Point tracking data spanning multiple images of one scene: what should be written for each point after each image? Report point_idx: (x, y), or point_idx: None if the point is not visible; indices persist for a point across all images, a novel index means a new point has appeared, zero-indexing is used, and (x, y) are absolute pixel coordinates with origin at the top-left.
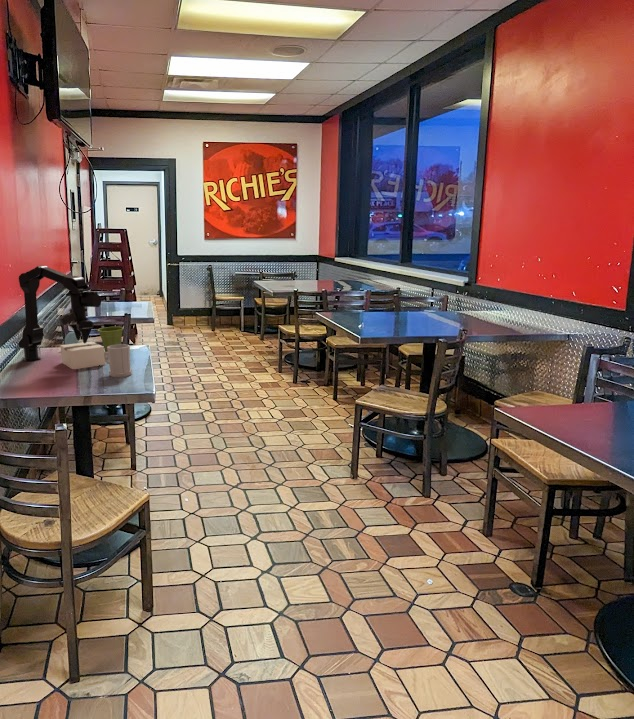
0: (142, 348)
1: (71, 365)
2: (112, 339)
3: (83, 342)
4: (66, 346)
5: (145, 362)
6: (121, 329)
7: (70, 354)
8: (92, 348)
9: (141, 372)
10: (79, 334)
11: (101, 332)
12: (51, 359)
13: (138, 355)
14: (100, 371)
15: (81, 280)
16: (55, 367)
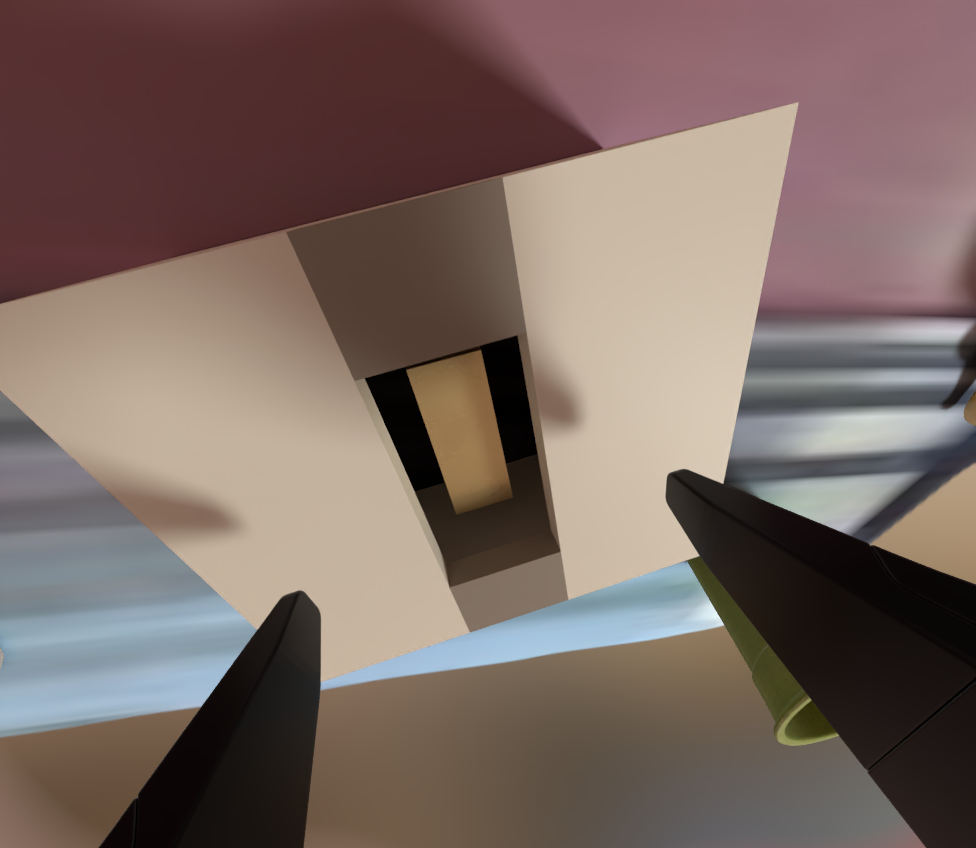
0: (688, 630)
1: (194, 252)
2: (742, 627)
3: (278, 606)
4: (583, 238)
5: (337, 685)
6: (784, 744)
7: (80, 283)
8: (241, 610)
9: (11, 716)
10: (745, 588)
11: None
12: (871, 20)
13: (540, 638)
14: (45, 512)
15: None
16: (366, 7)
